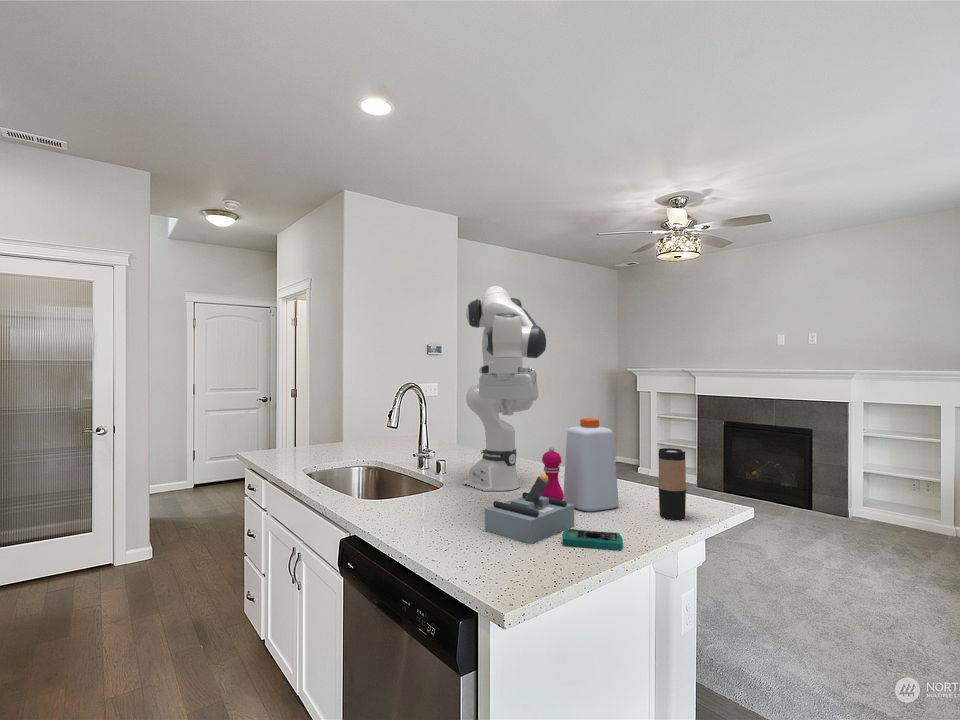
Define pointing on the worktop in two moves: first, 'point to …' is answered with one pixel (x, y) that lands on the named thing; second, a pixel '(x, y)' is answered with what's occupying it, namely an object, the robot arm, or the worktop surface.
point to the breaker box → (529, 520)
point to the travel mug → (672, 483)
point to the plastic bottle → (590, 467)
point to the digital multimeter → (592, 539)
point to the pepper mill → (552, 474)
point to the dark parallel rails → (526, 510)
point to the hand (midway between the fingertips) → (507, 415)
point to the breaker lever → (537, 489)
